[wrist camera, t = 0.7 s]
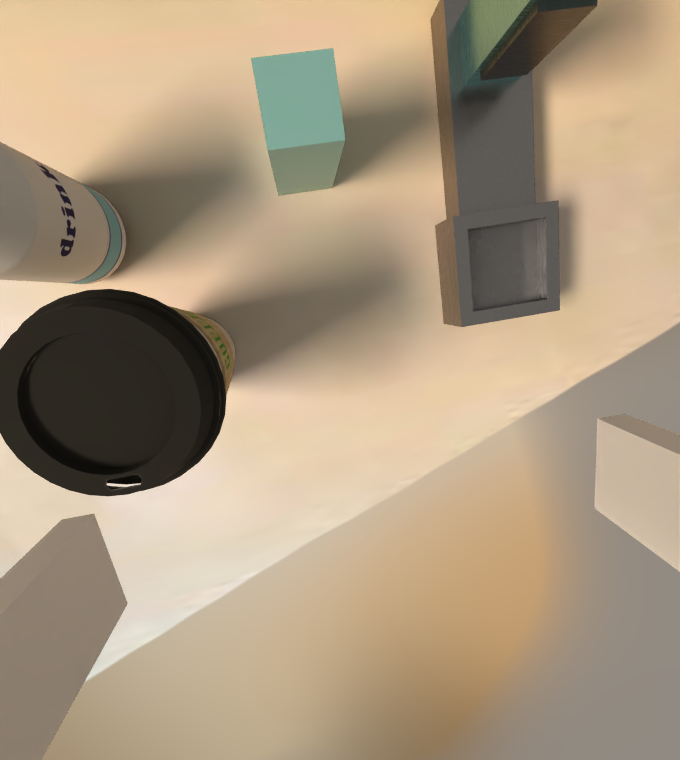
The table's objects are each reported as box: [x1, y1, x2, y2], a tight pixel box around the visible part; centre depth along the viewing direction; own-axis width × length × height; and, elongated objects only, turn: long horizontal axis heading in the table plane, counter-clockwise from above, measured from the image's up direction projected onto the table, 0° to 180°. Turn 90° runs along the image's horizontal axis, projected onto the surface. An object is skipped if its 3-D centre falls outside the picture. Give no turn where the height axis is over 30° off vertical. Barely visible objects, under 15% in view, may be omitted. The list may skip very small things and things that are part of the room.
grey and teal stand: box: [431, 0, 597, 327], centre depth 24 cm, size 22×8×11 cm, turn 9°
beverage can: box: [0, 142, 126, 284], centre depth 22 cm, size 7×7×12 cm
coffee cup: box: [0, 289, 236, 496], centre depth 23 cm, size 10×10×15 cm
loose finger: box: [251, 48, 345, 195], centre depth 23 cm, size 5×4×9 cm
